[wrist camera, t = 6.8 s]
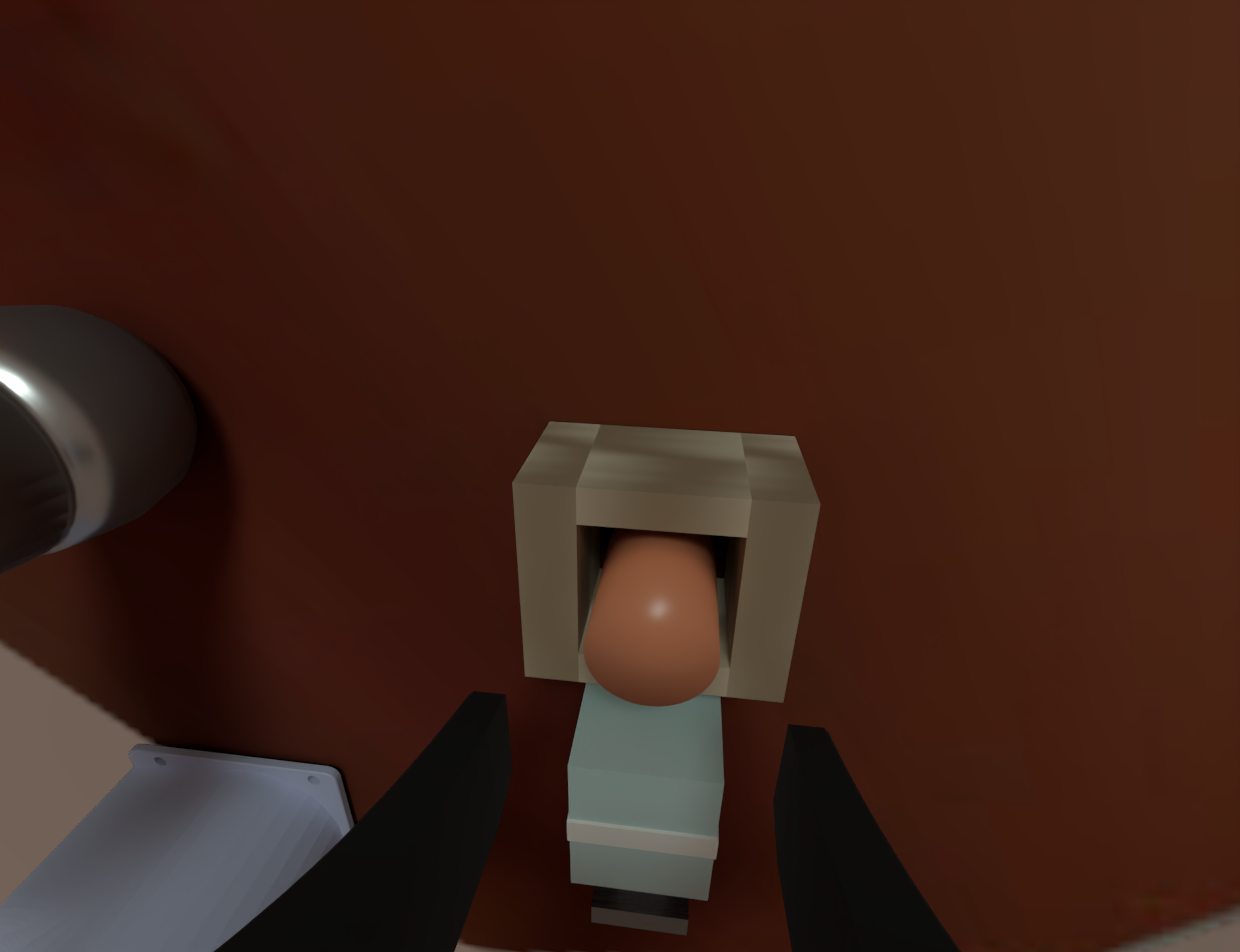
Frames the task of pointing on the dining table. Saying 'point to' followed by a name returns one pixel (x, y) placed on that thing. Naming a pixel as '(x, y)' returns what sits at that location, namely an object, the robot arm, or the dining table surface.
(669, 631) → the button
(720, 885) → the dining table surface
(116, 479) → the plastic bottle
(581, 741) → the block
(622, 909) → the rail
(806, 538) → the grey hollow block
